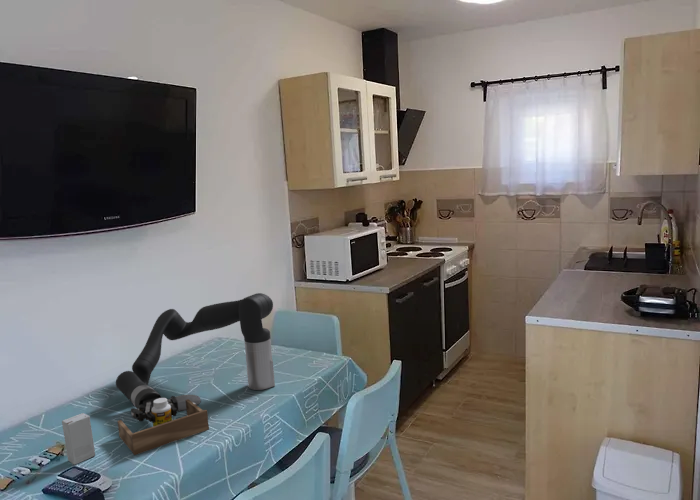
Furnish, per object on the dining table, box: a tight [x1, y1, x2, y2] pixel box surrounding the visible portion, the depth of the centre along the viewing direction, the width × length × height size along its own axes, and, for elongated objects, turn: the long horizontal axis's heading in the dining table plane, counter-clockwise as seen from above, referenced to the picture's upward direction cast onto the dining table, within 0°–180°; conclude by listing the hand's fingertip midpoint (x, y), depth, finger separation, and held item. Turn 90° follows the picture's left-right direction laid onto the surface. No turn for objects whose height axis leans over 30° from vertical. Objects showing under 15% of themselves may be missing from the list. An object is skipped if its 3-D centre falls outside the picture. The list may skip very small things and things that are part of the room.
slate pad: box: [175, 394, 201, 413], centre depth 188 cm, size 12×12×1 cm
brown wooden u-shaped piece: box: [116, 399, 210, 456], centre depth 167 cm, size 15×22×6 cm
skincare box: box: [61, 412, 96, 465], centre depth 154 cm, size 6×4×12 cm
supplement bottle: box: [151, 397, 173, 427], centre depth 167 cm, size 6×6×10 cm
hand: (164, 416), depth 165 cm, fingers closed on supplement bottle, 5 cm apart
